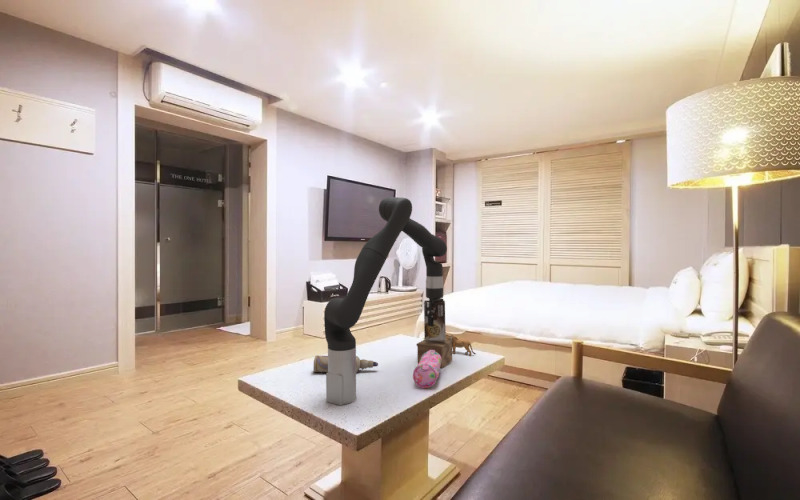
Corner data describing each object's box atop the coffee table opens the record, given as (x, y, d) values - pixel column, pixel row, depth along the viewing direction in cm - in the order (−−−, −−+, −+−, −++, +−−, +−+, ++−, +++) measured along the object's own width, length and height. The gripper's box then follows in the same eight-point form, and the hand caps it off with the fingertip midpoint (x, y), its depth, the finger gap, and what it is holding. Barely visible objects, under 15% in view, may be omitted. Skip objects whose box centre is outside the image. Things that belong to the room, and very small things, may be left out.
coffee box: (445, 337, 163) (445, 300, 163) (445, 340, 156) (445, 302, 156) (424, 336, 164) (424, 300, 164) (423, 340, 157) (423, 302, 157)
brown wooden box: (442, 369, 152) (441, 347, 152) (416, 364, 158) (416, 343, 158) (453, 360, 163) (453, 340, 163) (429, 357, 169) (428, 337, 169)
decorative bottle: (312, 375, 147) (311, 358, 147) (316, 369, 154) (316, 353, 154) (377, 375, 146) (377, 358, 146) (378, 369, 154) (378, 352, 154)
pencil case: (421, 369, 153) (420, 347, 152) (443, 370, 151) (443, 348, 150) (411, 389, 132) (410, 363, 132) (436, 391, 130) (436, 365, 130)
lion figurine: (443, 354, 173) (443, 334, 173) (445, 350, 178) (445, 332, 178) (475, 356, 169) (475, 337, 168) (476, 353, 174) (476, 334, 173)
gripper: (435, 288, 152) (436, 328, 152) (448, 285, 164) (449, 322, 164) (419, 287, 155) (419, 326, 156) (433, 284, 168) (433, 320, 168)
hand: (434, 324), depth 160 cm, fingers closed on coffee box, 8 cm apart
